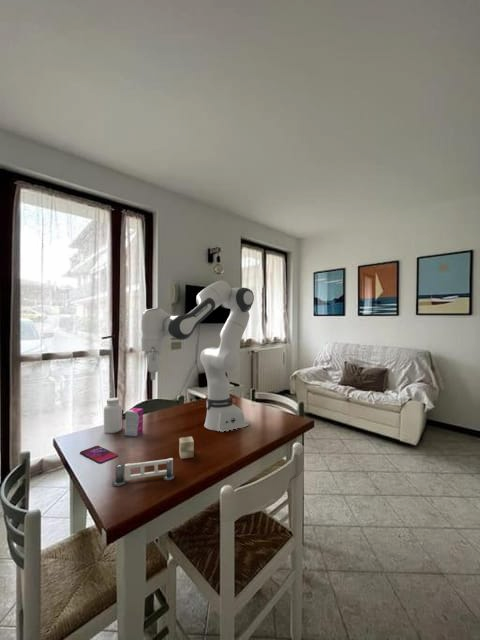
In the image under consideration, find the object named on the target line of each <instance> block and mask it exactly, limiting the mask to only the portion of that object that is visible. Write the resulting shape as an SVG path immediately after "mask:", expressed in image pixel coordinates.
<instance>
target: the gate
mask: <svg viewBox="0 0 480 640" xmlns="http://www.w3.org/2000/svg"><path fill="white" fill-rule="evenodd" d="M168 460H171V461H172V467H171V474H174V458H173V457H169V458H166V459H158V460H150V461H143V462H135V463H134V462H133V463H131V462H130V463H125V464H124V478H125V481H127V482H128V481H131V480H137V479H141V478H150V477H156V476H164V475H166V474H167V469H162V470H161V469H160V470H159V465H167V461H168ZM150 466H154V468H153V469H154V470H153V471H148V472H145V467H150ZM135 468H140V473H134V474H131V469H135Z"/></svg>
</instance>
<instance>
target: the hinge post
mask: <svg viewBox="0 0 480 640" xmlns="http://www.w3.org/2000/svg"><path fill="white" fill-rule="evenodd" d="M127 482H128V480H127V481H125V464H124V463H118V464H117V465H115V479H113V480H112V482H111V485H112V486H113V487H122V486H124V485H126V484H127Z"/></svg>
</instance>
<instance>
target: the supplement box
mask: <svg viewBox="0 0 480 640" xmlns="http://www.w3.org/2000/svg"><path fill="white" fill-rule="evenodd" d="M143 423H144V408H137V407H132V408H130V409H128V410H126V411H125V422H124V426H125V427H124V437H127V438H129V437H130V438H137V437H138V436H140V435H141V434H143V431H144V430H143V429H144V427H143Z"/></svg>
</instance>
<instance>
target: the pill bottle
mask: <svg viewBox="0 0 480 640" xmlns="http://www.w3.org/2000/svg"><path fill="white" fill-rule="evenodd" d="M122 429H123V405H122V404H121V403H120V398H119V397H111V398H107V400H106V405H105V406H104V407H103V431H104V433H106V434H115V433H118V432H120V431H121V430H122Z"/></svg>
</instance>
